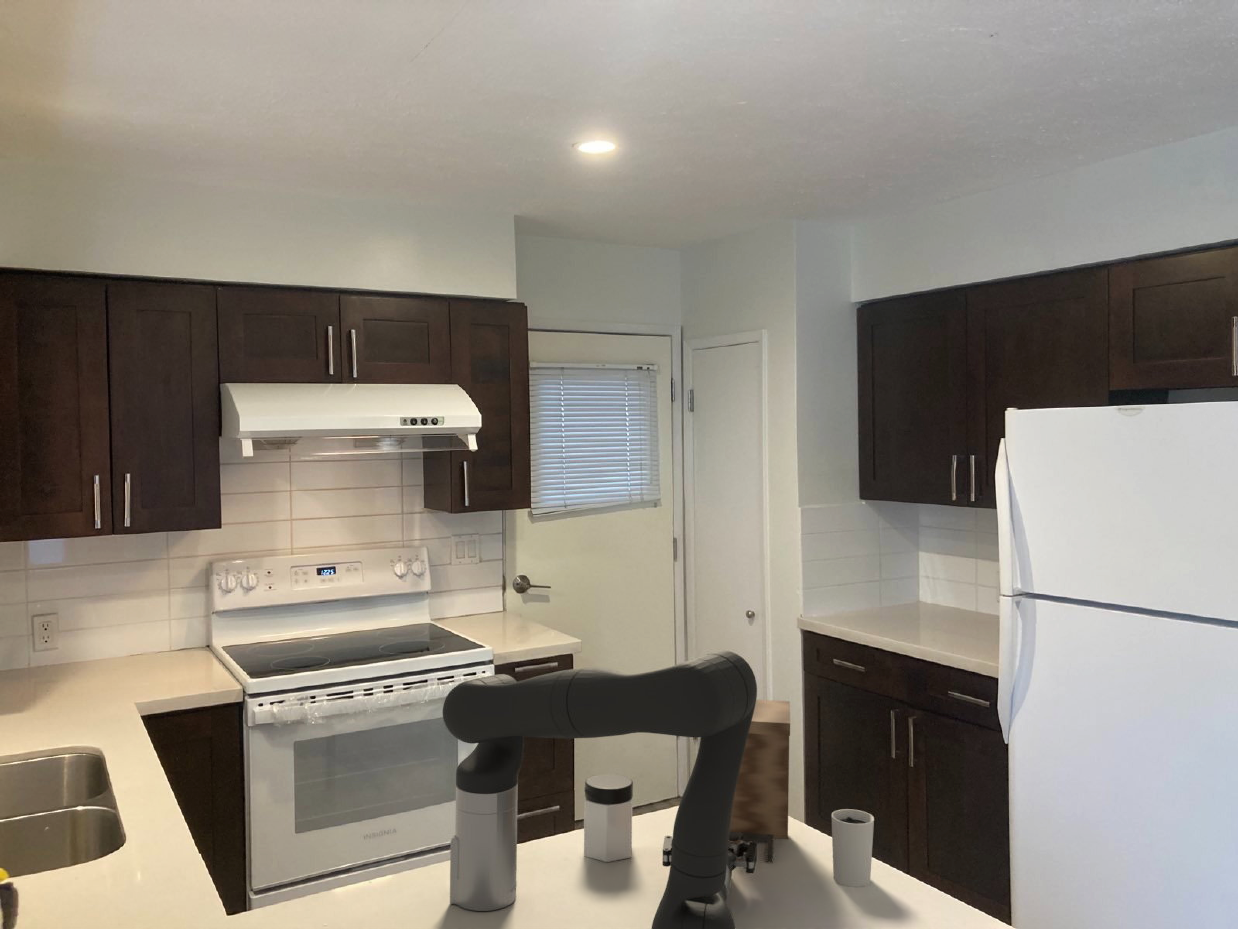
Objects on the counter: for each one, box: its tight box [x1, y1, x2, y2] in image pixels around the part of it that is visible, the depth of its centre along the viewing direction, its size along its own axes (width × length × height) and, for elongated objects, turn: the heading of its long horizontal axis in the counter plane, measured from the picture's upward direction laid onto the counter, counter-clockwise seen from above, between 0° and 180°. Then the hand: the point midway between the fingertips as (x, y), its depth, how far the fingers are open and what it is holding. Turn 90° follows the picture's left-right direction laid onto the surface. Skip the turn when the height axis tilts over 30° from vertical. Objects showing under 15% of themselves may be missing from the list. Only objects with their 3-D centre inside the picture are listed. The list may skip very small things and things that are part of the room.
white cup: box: [831, 808, 875, 888], centre depth 157 cm, size 7×7×10 cm
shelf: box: [729, 699, 791, 864], centre depth 169 cm, size 14×16×24 cm
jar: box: [583, 773, 634, 863], centre depth 166 cm, size 9×8×12 cm
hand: (712, 836), depth 157 cm, fingers open, 8 cm apart
